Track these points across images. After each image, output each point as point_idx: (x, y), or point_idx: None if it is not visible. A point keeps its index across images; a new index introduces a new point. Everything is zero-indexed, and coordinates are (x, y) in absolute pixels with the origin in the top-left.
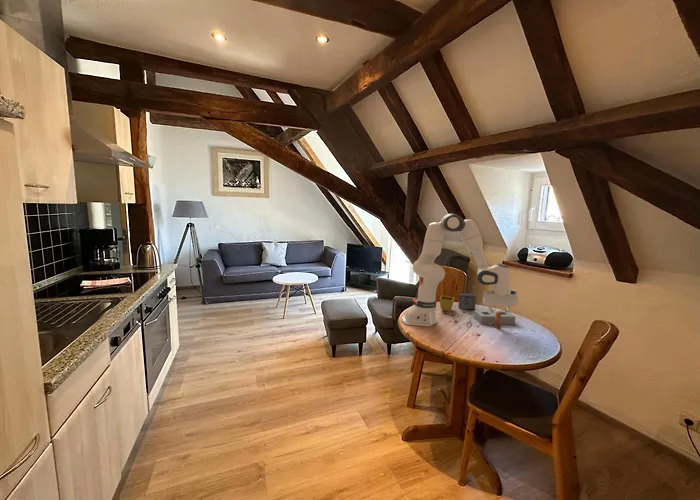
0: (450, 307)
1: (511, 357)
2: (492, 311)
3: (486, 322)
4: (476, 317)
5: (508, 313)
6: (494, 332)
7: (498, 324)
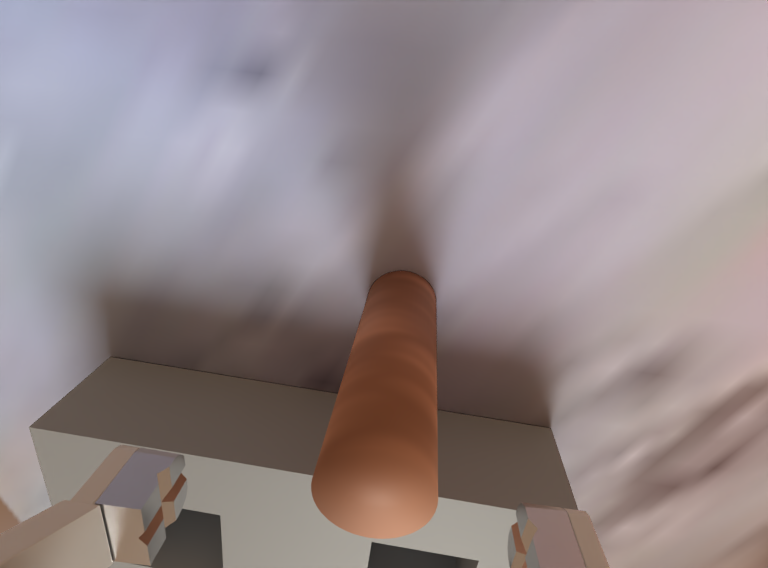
0: None
1: None
2: (559, 531)
3: (473, 429)
4: None
5: None
6: (566, 145)
7: (403, 298)
